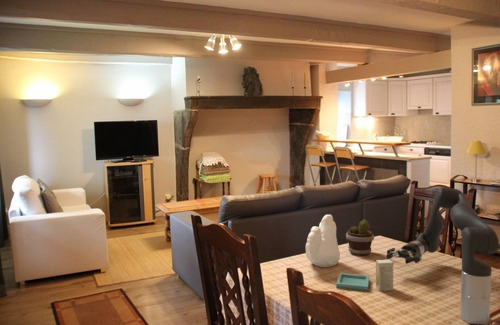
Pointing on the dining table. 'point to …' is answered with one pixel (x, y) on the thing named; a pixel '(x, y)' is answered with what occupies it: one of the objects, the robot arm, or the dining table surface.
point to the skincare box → (384, 275)
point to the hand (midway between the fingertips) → (396, 259)
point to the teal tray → (353, 282)
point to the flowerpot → (360, 239)
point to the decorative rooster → (323, 243)
